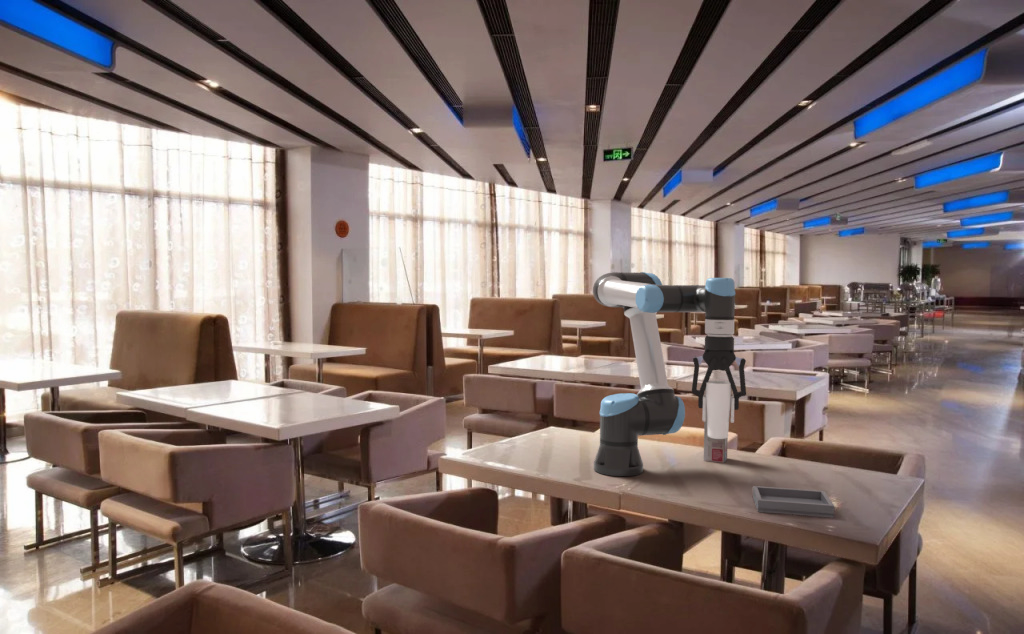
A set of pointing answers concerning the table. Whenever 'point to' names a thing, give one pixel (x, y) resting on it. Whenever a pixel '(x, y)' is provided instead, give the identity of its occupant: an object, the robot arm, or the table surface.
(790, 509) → the tray
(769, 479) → the table surface
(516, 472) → the table surface
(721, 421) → the drinking glass
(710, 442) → the juice carton
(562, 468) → the table surface
